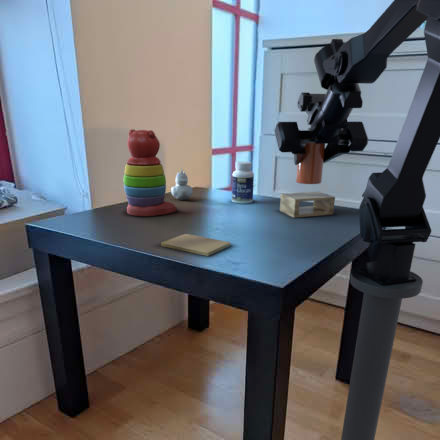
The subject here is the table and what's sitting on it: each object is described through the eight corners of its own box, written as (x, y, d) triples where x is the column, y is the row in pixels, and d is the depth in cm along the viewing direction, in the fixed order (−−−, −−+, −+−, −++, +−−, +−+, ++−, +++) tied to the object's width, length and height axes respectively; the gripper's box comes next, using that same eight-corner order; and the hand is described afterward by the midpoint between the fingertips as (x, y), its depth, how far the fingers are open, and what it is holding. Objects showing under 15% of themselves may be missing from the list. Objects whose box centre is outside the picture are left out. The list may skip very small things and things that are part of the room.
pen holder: (326, 183, 92) (330, 139, 88) (303, 184, 90) (307, 140, 87) (313, 179, 97) (316, 138, 93) (291, 180, 95) (294, 138, 91)
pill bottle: (235, 204, 104) (236, 163, 100) (229, 200, 109) (229, 161, 105) (255, 203, 106) (257, 163, 102) (248, 199, 110) (250, 160, 106)
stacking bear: (180, 210, 98) (177, 129, 91) (151, 219, 90) (145, 131, 83) (145, 205, 103) (139, 127, 96) (115, 213, 95) (106, 129, 88)
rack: (333, 214, 95) (335, 196, 93) (293, 217, 92) (295, 199, 90) (317, 208, 101) (318, 191, 99) (279, 211, 98) (280, 193, 96)
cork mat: (230, 245, 73) (230, 242, 73) (207, 256, 68) (207, 252, 67) (185, 236, 78) (185, 233, 78) (160, 245, 73) (160, 242, 72)
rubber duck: (175, 202, 106) (173, 169, 103) (168, 197, 112) (167, 166, 109) (195, 200, 108) (194, 168, 105) (188, 196, 114) (187, 165, 111)
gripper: (369, 78, 83) (338, 134, 98) (280, 76, 80) (261, 134, 94) (384, 121, 79) (349, 173, 94) (291, 121, 76) (270, 175, 90)
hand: (307, 163), depth 93 cm, fingers closed on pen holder, 5 cm apart
